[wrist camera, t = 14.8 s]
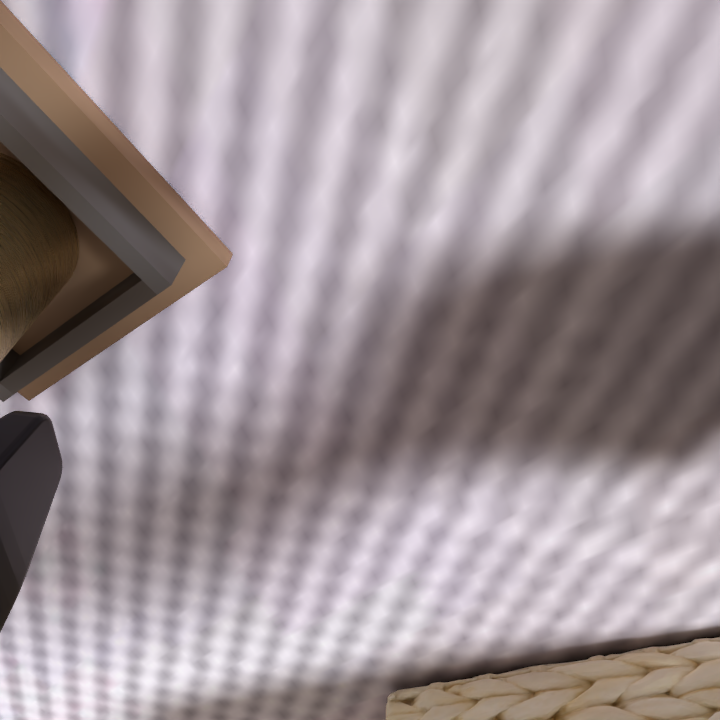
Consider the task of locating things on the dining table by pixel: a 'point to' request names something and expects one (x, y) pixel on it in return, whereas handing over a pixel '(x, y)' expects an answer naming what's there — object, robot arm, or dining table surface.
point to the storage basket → (580, 689)
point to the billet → (30, 249)
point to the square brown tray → (92, 218)
